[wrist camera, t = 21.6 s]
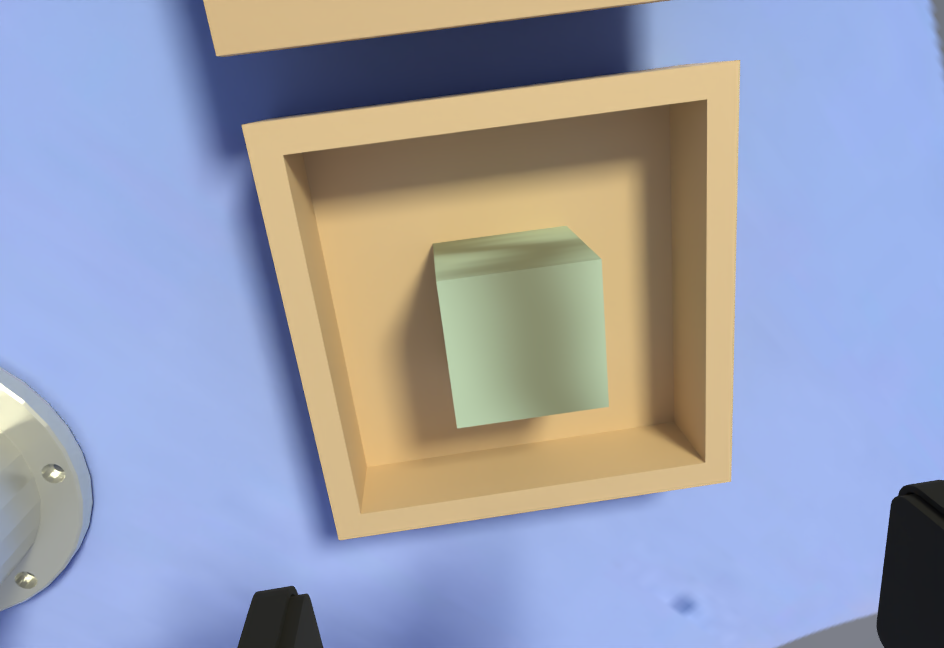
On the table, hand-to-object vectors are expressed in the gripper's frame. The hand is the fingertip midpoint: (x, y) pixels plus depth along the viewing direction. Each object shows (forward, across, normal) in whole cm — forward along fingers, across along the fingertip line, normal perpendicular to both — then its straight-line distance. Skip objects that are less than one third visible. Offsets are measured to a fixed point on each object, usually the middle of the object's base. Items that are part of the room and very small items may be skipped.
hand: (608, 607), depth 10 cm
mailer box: (+16, -1, 0) cm, 17 cm away
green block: (+16, -1, 0) cm, 16 cm away
